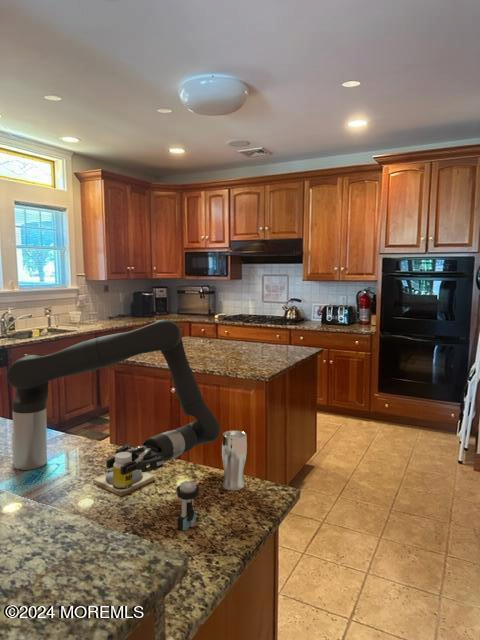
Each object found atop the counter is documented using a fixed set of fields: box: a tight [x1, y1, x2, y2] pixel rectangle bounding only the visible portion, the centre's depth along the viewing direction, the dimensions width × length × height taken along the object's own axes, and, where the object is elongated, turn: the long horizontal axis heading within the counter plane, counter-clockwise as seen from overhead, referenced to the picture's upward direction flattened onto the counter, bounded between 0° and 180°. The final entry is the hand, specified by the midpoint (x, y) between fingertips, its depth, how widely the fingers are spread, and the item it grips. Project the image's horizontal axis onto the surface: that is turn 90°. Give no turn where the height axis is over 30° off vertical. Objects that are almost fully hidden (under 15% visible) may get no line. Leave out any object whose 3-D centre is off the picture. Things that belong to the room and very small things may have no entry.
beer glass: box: [221, 429, 248, 492], centre depth 123 cm, size 7×7×15 cm
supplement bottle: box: [112, 452, 133, 491], centre depth 109 cm, size 5×5×8 cm
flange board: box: [92, 467, 156, 497], centre depth 125 cm, size 12×12×2 cm
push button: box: [176, 480, 200, 531], centre depth 104 cm, size 7×5×10 cm
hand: (114, 467), depth 106 cm, fingers closed on supplement bottle, 4 cm apart
